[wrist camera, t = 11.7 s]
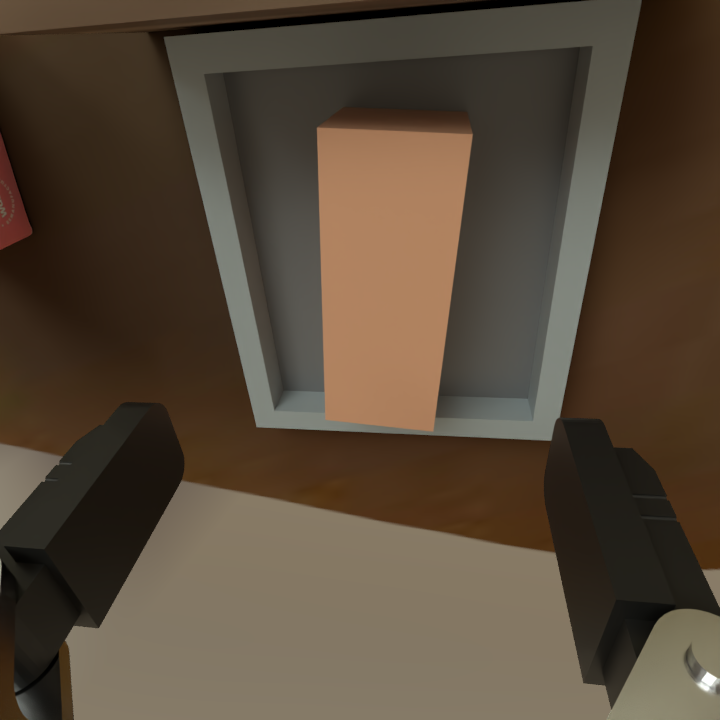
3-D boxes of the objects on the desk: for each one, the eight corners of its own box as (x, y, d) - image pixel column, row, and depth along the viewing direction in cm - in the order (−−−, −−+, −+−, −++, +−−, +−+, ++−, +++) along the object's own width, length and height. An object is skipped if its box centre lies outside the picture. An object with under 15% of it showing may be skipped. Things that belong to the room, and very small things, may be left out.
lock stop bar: (343, 106, 16) (316, 127, 13) (467, 111, 16) (472, 134, 12) (343, 360, 22) (325, 420, 19) (435, 369, 21) (433, 431, 18)
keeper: (191, 36, 16) (163, 37, 15) (620, -1, 14) (642, -5, 12) (269, 401, 24) (256, 427, 23) (547, 411, 22) (554, 440, 21)
